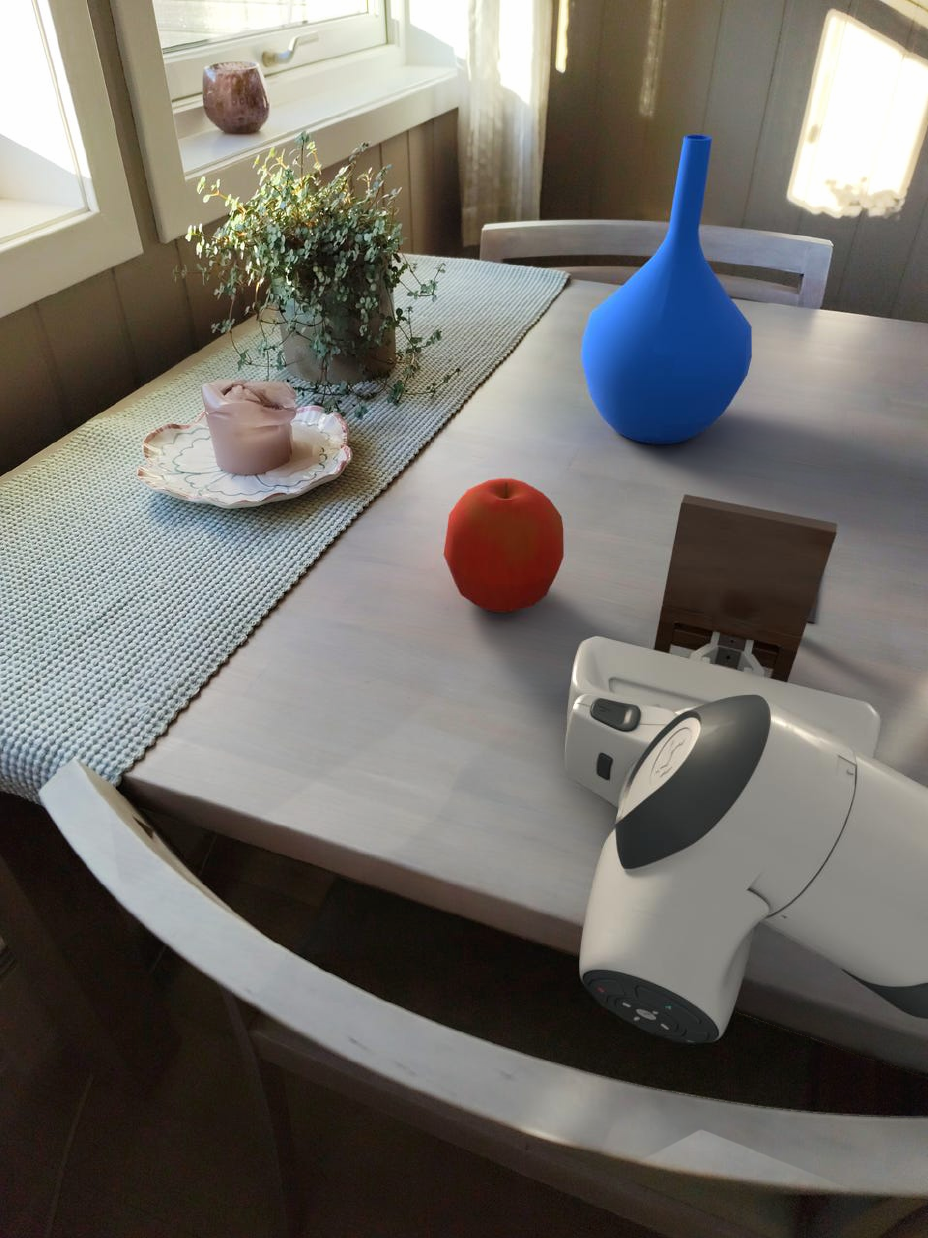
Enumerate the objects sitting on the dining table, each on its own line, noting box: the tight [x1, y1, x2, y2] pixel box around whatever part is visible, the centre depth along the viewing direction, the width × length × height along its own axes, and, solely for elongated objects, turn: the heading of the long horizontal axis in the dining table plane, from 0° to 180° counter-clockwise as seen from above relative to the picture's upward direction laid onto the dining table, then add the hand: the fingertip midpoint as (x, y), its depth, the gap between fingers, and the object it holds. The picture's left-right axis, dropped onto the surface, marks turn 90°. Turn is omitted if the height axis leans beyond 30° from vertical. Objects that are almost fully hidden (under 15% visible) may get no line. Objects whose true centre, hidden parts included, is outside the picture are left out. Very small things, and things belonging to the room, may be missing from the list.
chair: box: [653, 494, 839, 683], centre depth 66 cm, size 10×10×16 cm
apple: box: [443, 477, 565, 613], centre depth 73 cm, size 10×10×12 cm
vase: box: [580, 134, 753, 445], centre depth 91 cm, size 18×18×30 cm
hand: (731, 642), depth 64 cm, fingers closed, pressing on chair
